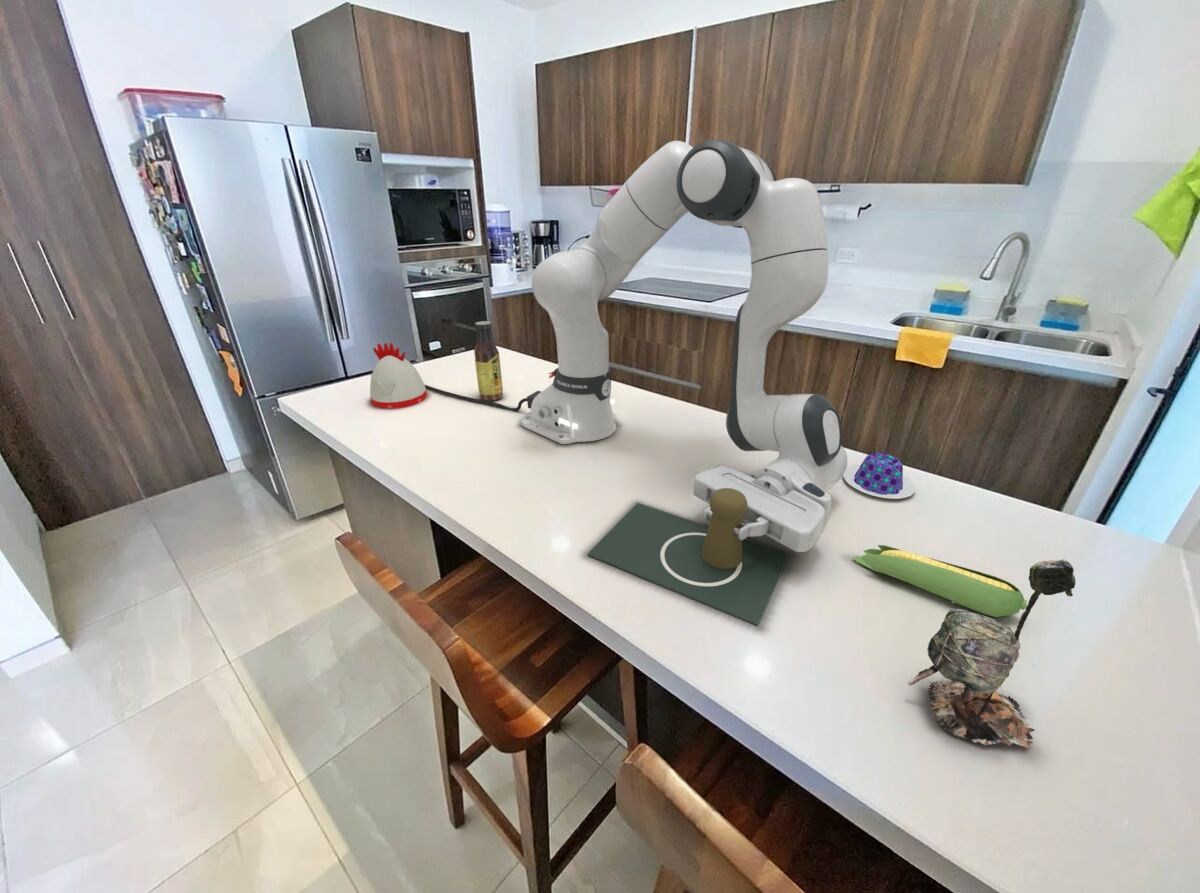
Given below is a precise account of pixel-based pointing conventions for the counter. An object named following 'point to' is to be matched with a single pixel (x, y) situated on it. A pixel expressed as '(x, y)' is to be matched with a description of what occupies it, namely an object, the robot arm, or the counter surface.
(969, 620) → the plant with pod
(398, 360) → the grey and red dome
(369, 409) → the counter surface
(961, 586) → the edible corn
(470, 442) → the counter surface
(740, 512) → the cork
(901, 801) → the counter surface
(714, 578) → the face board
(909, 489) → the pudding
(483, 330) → the sauce bottle
